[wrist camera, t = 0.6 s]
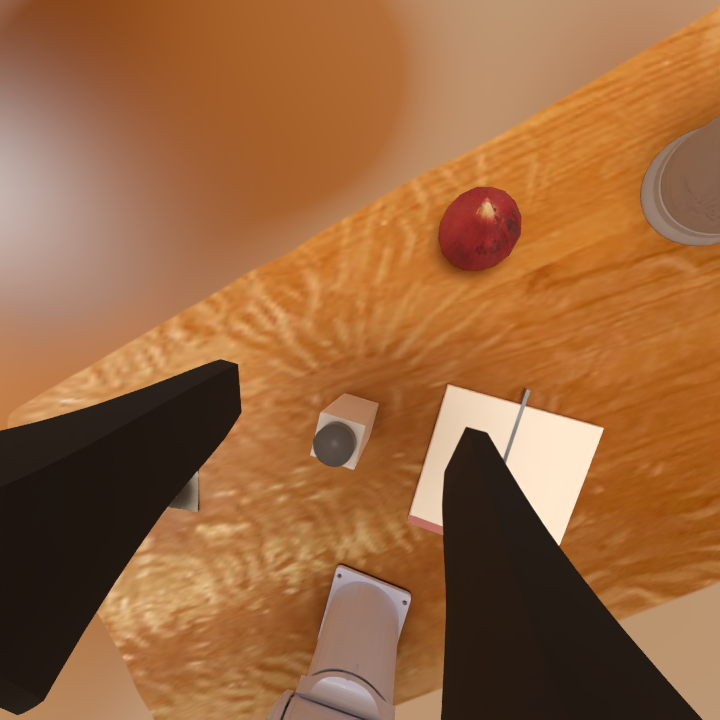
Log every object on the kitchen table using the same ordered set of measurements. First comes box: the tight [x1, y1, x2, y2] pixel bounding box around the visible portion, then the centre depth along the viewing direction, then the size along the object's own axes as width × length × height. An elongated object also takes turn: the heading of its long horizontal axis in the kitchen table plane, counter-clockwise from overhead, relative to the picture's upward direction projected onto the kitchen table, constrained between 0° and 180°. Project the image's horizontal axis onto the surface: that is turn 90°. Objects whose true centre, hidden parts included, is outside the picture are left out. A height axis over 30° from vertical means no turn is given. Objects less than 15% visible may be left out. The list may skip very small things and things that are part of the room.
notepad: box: [407, 384, 604, 545], centre depth 27 cm, size 17×13×1 cm
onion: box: [438, 187, 521, 271], centre depth 23 cm, size 6×6×8 cm
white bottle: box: [310, 393, 379, 470], centre depth 26 cm, size 4×4×9 cm
